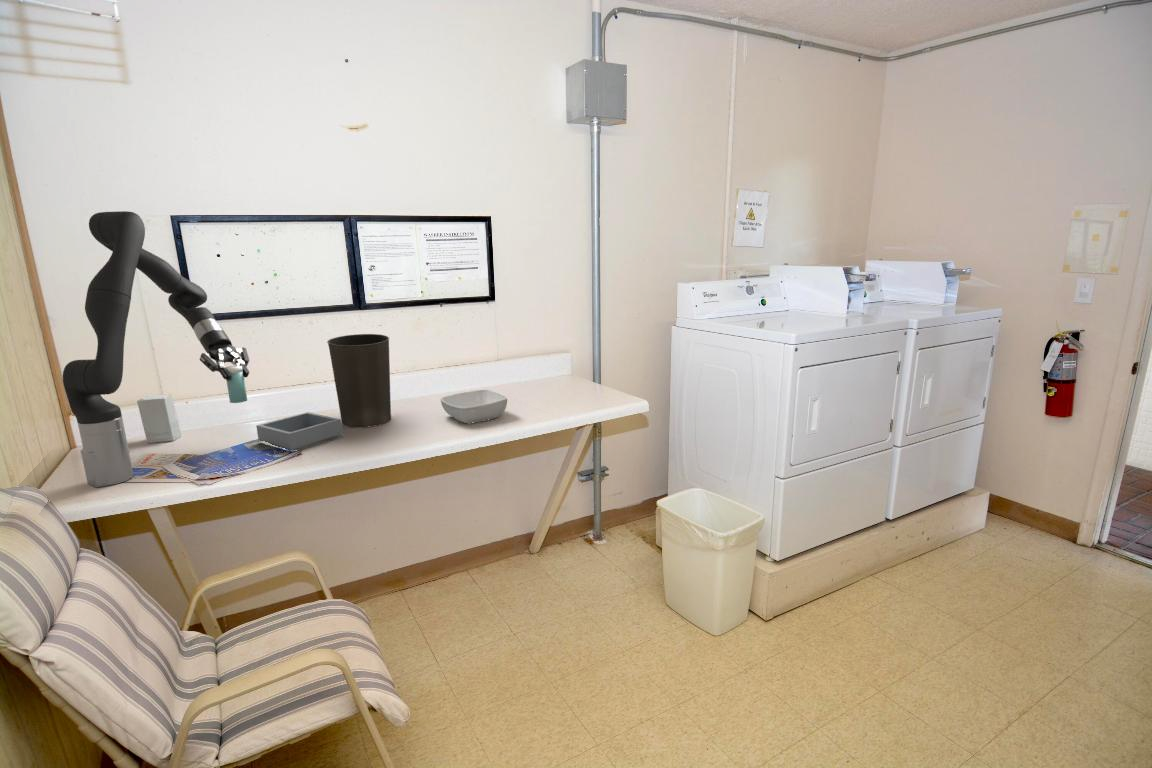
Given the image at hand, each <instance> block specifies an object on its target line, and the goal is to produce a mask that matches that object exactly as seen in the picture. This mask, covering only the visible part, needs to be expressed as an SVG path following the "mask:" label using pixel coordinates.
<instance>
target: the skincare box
mask: <svg viewBox="0 0 1152 768" xmlns="http://www.w3.org/2000/svg"><path fill="white" fill-rule="evenodd" d="M136 402H137V403H136V404H137V407H138V410H139V414H140V415H139V416H140V419H141V423H142V427H143V431H144V436H145V439H146V444H151V443H163V442H164V443H165V442H174V441H176V440H178V439H179V438H181V437H182V431H181V428H180V423H179V419H178V413H177V411H176V406H175V402H174V398H173V394H172V393H171V394H169V393H168V394H161V395H159V394H158V395H148V396H144V397H142V398H140V399H138V400H136Z"/></svg>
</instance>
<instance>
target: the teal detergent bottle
mask: <svg viewBox="0 0 1152 768" xmlns="http://www.w3.org/2000/svg"><path fill="white" fill-rule="evenodd" d="M224 368H226V369H227V370H228V372H229V373H230V375H231V379H230V380H229V381H227V380H226V379H225V380H226V386H227V392H228V398H229V403H230V404H238V403H244V402H247V401H248V396H247V389H246V383H245V377H244V375H243V368H242V366H236V365H230V366H224Z"/></svg>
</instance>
